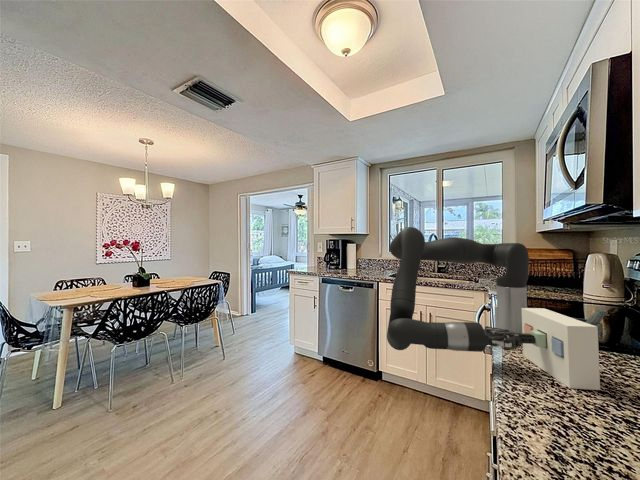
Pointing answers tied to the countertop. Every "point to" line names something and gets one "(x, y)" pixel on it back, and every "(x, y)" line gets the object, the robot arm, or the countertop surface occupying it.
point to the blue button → (557, 346)
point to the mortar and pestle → (595, 319)
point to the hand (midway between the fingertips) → (532, 338)
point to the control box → (578, 348)
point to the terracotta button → (528, 328)
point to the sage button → (539, 338)
